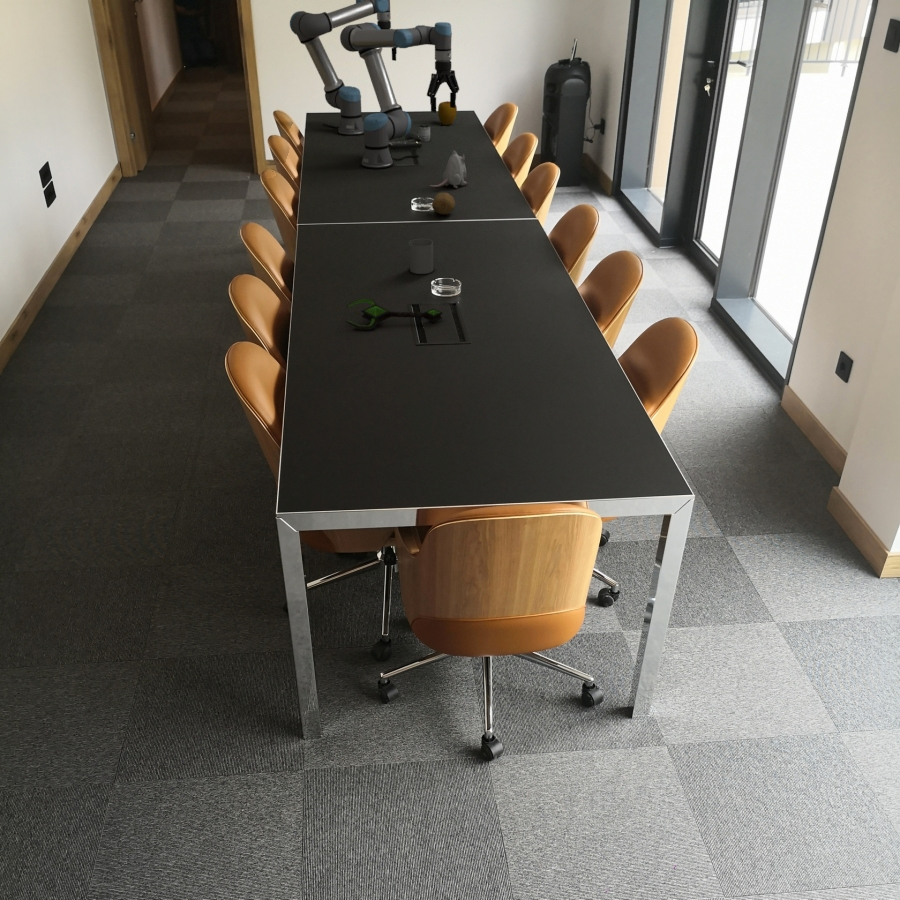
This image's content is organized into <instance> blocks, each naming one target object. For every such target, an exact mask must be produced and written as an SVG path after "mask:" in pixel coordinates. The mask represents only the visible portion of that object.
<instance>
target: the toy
mask: <svg viewBox="0 0 900 900" xmlns="http://www.w3.org/2000/svg"><path fill="white" fill-rule="evenodd" d="M466 178H467V168H466V156H465V153H463V154H462V155H459V154H458V153H457V151H456V150H455V149H453V150H452V153H451V155H450V156H449V158H448V161H447V163H446V166H445V170H444V171H443V177H442V179H443V181H442V182H441V183H439V184H436V185H435V184H433V185H432V184H430V185H428V186H429V187H434V188H440V187H443V186H446V187H448V186H449V185H451V186H453V188H455V189H459V187H458V186H461V187H462V186H467V185H468V182H467V181H465V180H466Z"/></svg>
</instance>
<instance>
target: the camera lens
mask: <svg viewBox="0 0 900 900" xmlns="http://www.w3.org/2000/svg"><path fill="white" fill-rule="evenodd" d="M419 138H421V139H422V140H421V141H420V142H427V143H428V142H430V140H431V126H430V125H429V124H420V125H419V126H418V139H419Z"/></svg>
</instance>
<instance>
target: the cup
mask: <svg viewBox="0 0 900 900" xmlns="http://www.w3.org/2000/svg"><path fill="white" fill-rule="evenodd" d="M408 253H409V272H411V273H412V274H416V275H426V274H430V273H432V272H434V241H433V240H431V239H428V238H422V237H421V238H420V237H419V238H414V239H411V240H410V241H409V242H408Z"/></svg>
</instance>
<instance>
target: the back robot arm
mask: <svg viewBox="0 0 900 900" xmlns="http://www.w3.org/2000/svg"><path fill="white" fill-rule="evenodd" d="M372 15H376V20H377V21H376V25H378V26H379V27H380V29H381V30H382V29H392V21H391V19H392V18H391V0H355V3H354V4H349V5H347V6H344V7H341V8H339V9H336V10H333V11H330V12H328V13H327V12H326V11H324V12H320V13H312V12H306V11H304V10H298V11H295V12H293V14H292V15H291V17H290V20H289V27H290V30H291V32H292V33H293V34H294V35H296V37H297V38H298V40H299V42H300V44H302V45H304V46H305V48H306V50H307V52H308V54H309V57H310V58H311V61H312V62H313V64H314V67H315V69H316V71H317V73H318V75H319V77H320V79H321V81H322V83H323V85H324V87H323V91H324V98H325V101H326V103H327V104H328V105H329V106H330V107H332V108H334V109H337V110H340V111H339V112H340V119H339V125H338V126H334V125H331V124H327V123H322V125H323V126H326V127H329V128H334V129H337V130H338V131H337V132H338V134H339V135H342V136H360V135H361V136H362V135H364V128H363V125H364V119H363V118H362V117H363V116H362V115H363V114H362V95H361V94H362V93H361V90H360V89H359V88H358V87H355V86H350V85H345V83H344V81H343V79H342V78H339V77H338V74H337V72H336V71H335V67H334V66H333V64H332V61H331V59H330V58H329V56H328V54H327V52H326V49H325V47H324V45H323V43H322V41H321V39H320V36H323V35H326V34H328V33H332V31H333V29H336V28H339V27H341V26H345V25H347V24H350V23H353V22H356V21H359V20H361V19H364V18H367V17H369V16H372ZM398 49H399V48H398V47H391V60H392V61H394V62H396V61H397V55H398V54H397V53H398V51H397V50H398Z"/></svg>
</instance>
